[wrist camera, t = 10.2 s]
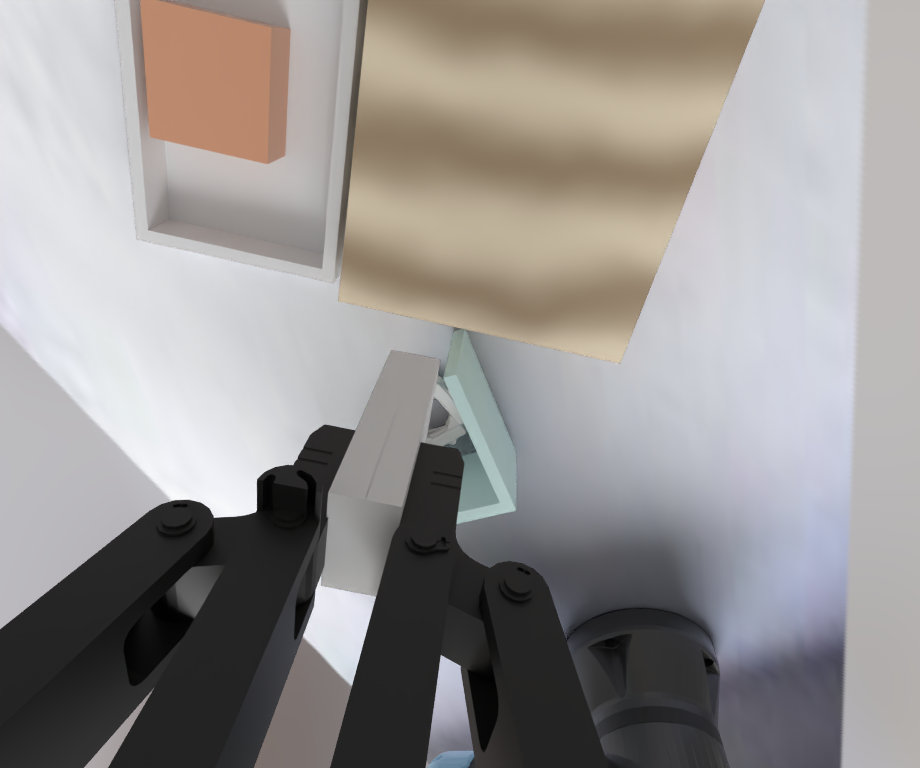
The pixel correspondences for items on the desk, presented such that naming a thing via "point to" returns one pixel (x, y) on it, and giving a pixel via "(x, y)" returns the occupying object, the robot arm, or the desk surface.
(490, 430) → the l-shaped corner panel
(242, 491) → the desk surface
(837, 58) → the desk surface
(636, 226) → the plate
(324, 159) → the box
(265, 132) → the tile
